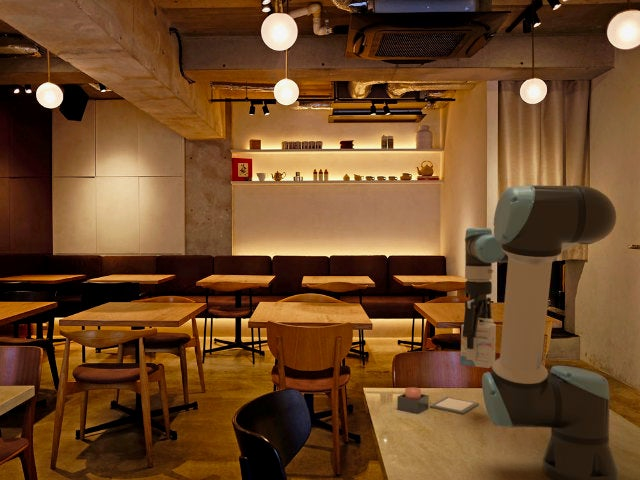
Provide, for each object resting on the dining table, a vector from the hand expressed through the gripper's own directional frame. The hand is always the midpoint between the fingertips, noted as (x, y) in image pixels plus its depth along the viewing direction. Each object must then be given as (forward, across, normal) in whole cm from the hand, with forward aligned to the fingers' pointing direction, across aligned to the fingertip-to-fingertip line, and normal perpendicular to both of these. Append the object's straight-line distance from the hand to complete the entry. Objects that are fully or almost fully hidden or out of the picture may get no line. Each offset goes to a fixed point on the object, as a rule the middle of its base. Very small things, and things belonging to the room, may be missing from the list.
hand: (478, 356), depth 158 cm
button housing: (+18, -5, +19) cm, 26 cm away
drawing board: (+18, +6, +10) cm, 21 cm away
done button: (+16, -5, +19) cm, 25 cm away
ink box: (+2, 0, 0) cm, 2 cm away
